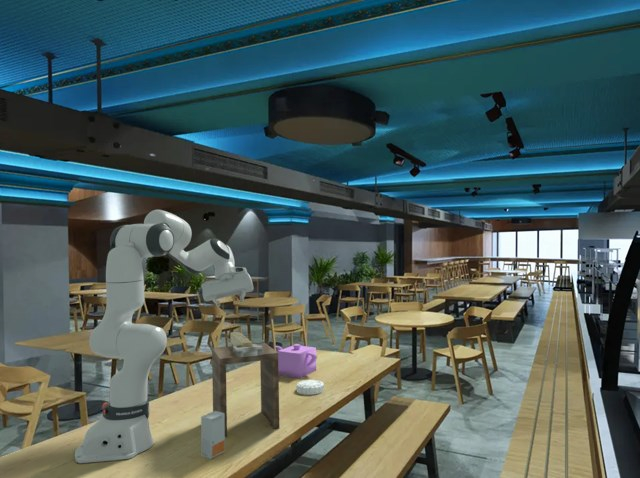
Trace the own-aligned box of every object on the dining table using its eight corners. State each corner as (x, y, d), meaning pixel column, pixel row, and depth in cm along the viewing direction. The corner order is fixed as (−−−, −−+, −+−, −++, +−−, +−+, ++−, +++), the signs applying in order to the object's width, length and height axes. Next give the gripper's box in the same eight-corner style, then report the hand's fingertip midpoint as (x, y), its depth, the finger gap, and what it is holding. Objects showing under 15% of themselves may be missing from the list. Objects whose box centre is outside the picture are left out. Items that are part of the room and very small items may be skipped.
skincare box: (211, 459, 137) (210, 419, 137) (201, 456, 139) (200, 416, 139) (225, 451, 142) (225, 412, 142) (215, 448, 144) (215, 410, 144)
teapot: (283, 366, 243) (283, 339, 243) (324, 372, 230) (324, 343, 230) (266, 373, 230) (265, 344, 230) (308, 379, 217) (307, 349, 217)
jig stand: (221, 438, 151) (220, 350, 152) (213, 419, 169) (211, 339, 169) (280, 429, 159) (278, 344, 159) (266, 411, 176) (265, 335, 176)
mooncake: (291, 393, 198) (291, 385, 198) (304, 385, 209) (304, 377, 209) (316, 396, 193) (316, 388, 193) (328, 388, 203) (328, 380, 203)
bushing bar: (241, 353, 159) (241, 343, 159) (230, 341, 180) (230, 332, 180) (252, 352, 160) (252, 342, 160) (239, 340, 181) (239, 331, 181)
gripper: (199, 277, 187) (201, 304, 177) (249, 266, 190) (254, 292, 180) (202, 287, 191) (205, 313, 182) (251, 276, 194) (256, 302, 185)
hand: (230, 303), depth 181 cm, fingers open, 8 cm apart
